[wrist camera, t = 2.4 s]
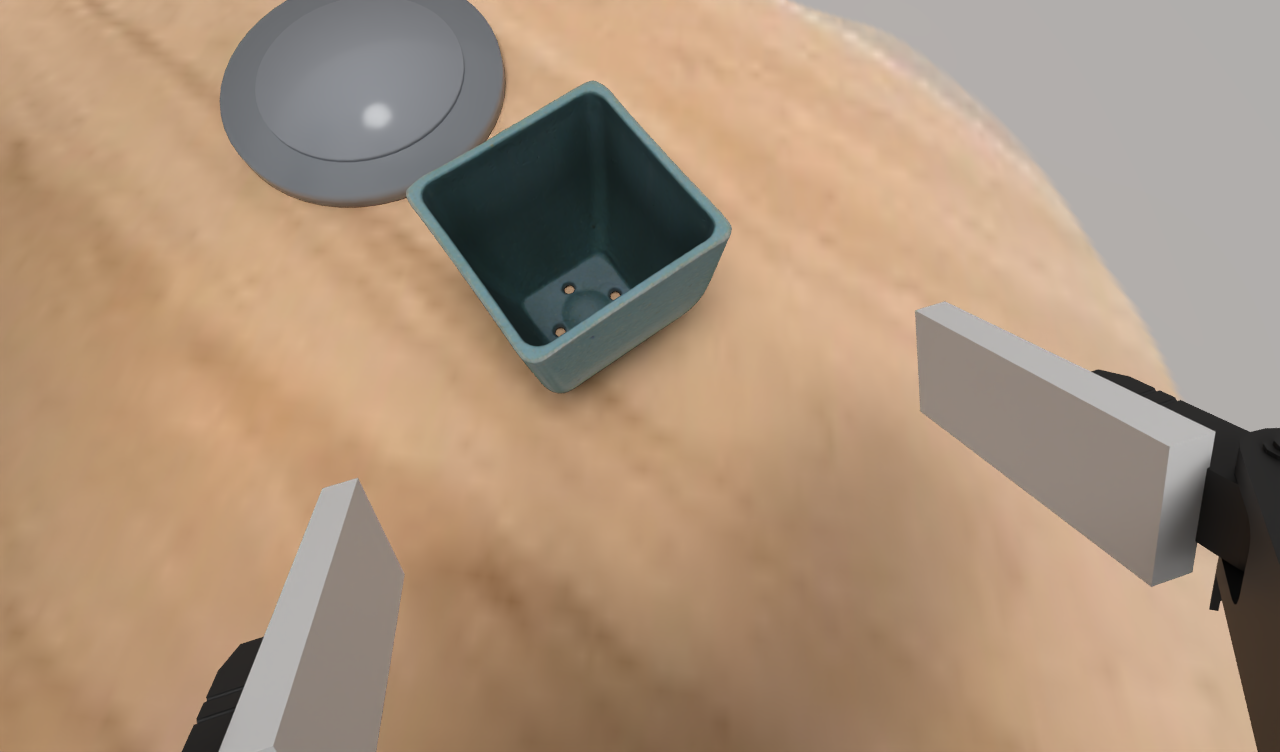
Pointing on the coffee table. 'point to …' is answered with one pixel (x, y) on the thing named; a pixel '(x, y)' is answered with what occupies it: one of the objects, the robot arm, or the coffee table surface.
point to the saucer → (361, 95)
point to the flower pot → (574, 233)
